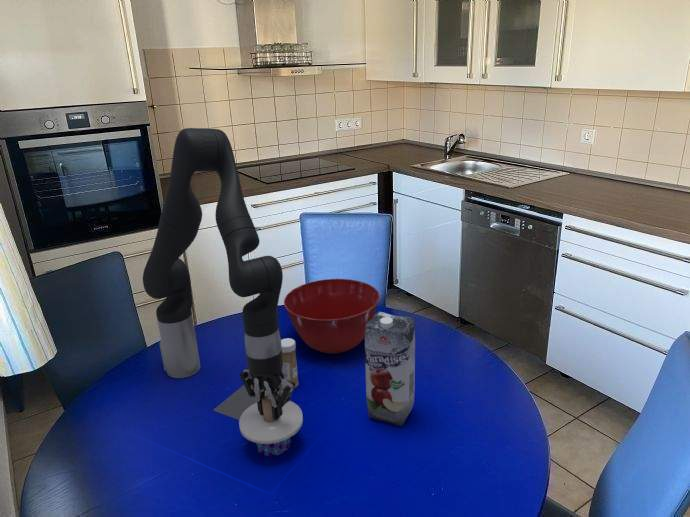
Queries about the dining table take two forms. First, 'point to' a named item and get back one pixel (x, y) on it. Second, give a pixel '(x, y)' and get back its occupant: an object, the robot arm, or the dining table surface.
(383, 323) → the juice carton
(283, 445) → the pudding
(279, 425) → the lid
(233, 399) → the mat
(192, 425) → the dining table surface
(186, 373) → the robot arm
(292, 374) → the sprinkles bottle
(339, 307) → the mixing bowl
